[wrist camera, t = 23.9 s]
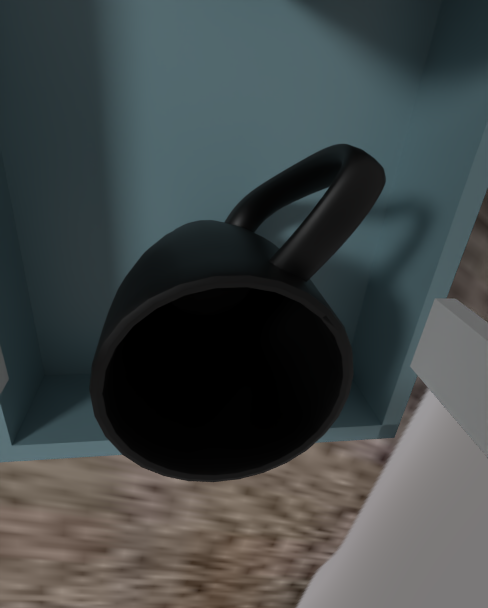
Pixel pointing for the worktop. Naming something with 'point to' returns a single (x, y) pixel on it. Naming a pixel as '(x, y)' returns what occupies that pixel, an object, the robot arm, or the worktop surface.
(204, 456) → the mug
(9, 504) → the worktop surface
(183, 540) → the worktop surface
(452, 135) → the tote
